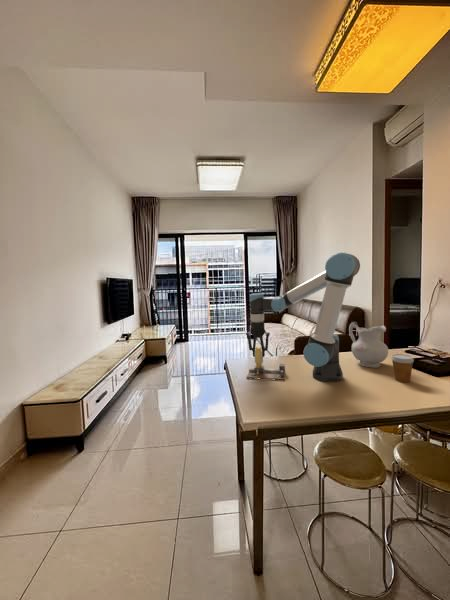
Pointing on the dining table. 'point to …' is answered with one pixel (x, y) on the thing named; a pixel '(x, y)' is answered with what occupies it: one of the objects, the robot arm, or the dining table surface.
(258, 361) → the sliding leg
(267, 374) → the pitch board
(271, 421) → the dining table surface
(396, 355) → the disposable coffee cup
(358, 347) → the ceramic pitcher
